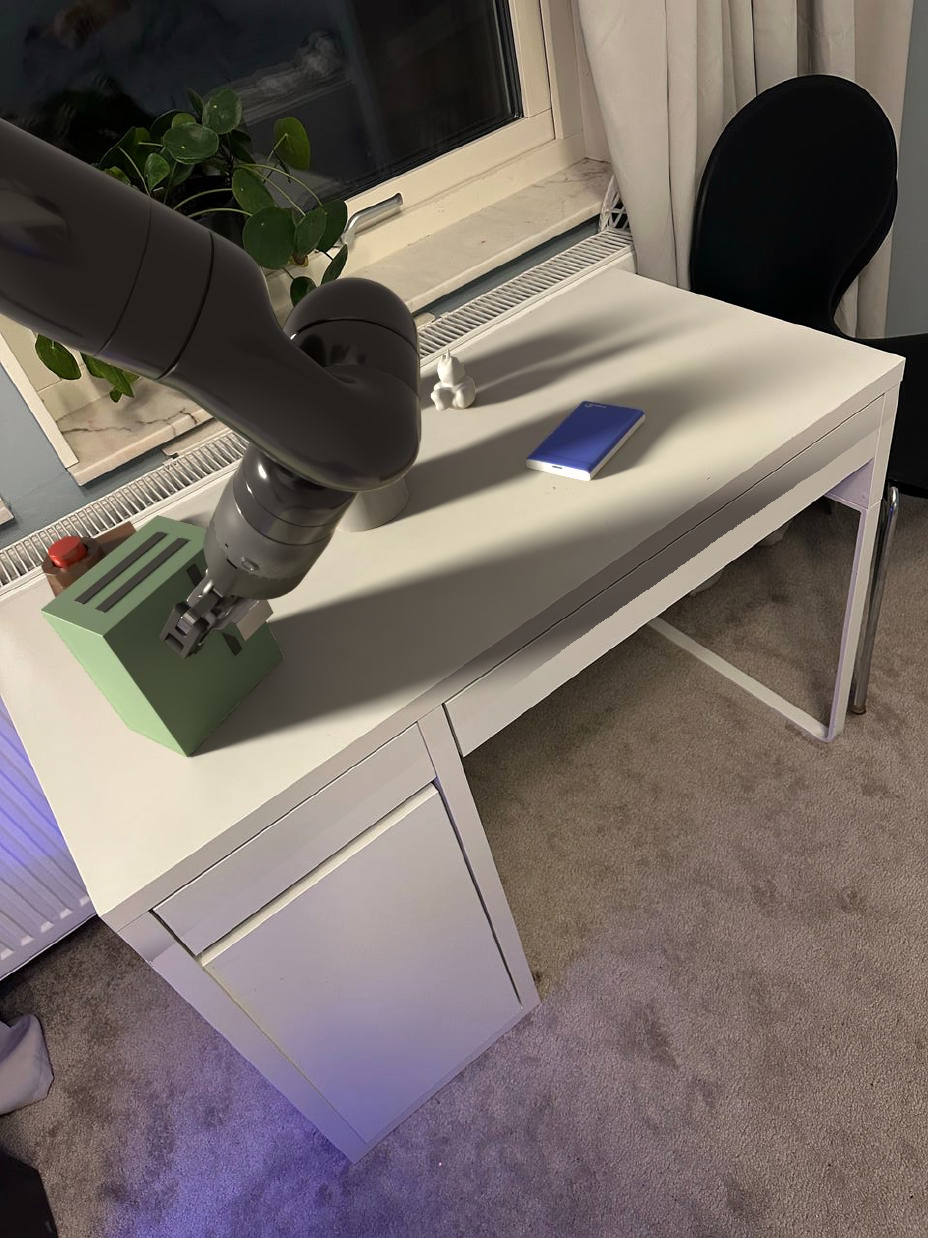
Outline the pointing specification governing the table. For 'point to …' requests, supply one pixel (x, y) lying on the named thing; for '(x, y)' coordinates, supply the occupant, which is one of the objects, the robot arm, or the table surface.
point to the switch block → (86, 557)
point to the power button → (67, 551)
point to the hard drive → (586, 440)
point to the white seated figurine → (452, 385)
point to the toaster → (157, 638)
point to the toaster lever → (247, 619)
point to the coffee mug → (375, 507)
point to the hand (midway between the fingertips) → (223, 609)
